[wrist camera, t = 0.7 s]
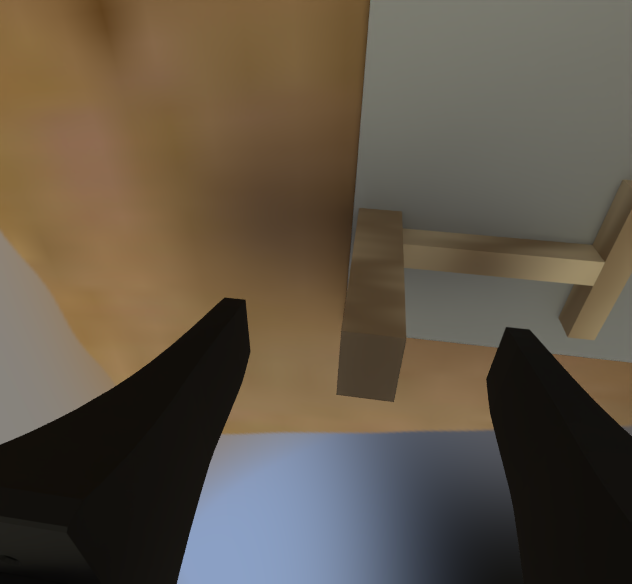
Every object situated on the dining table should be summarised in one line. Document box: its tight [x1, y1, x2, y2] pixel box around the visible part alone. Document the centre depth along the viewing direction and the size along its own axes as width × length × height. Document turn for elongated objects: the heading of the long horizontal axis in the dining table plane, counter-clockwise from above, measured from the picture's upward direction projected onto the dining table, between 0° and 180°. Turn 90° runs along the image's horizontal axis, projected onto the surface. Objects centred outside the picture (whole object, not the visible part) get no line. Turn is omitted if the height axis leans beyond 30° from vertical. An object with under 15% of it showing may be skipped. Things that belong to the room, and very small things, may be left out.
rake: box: [337, 180, 632, 402], centre depth 14 cm, size 10×6×7 cm, turn 89°
